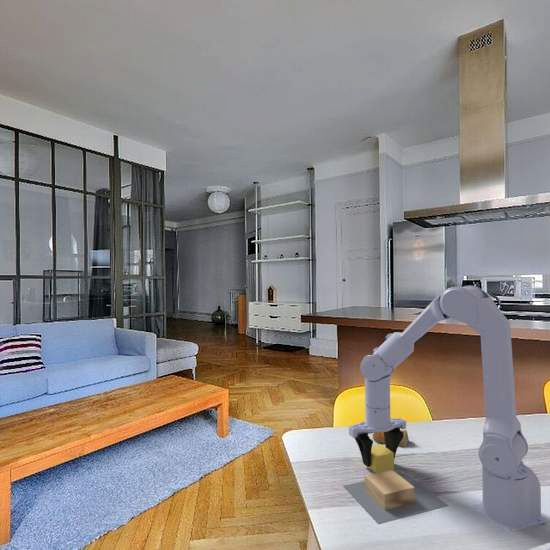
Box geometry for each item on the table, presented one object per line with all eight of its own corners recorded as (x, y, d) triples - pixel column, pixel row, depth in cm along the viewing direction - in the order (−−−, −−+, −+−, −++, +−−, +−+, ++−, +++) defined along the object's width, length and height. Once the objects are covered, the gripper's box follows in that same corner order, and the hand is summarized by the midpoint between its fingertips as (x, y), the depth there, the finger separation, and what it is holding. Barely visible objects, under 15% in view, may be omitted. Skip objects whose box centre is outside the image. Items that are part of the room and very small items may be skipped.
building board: (405, 474, 85) (405, 472, 85) (448, 508, 72) (448, 505, 72) (342, 488, 79) (342, 485, 79) (378, 527, 67) (378, 523, 67)
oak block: (392, 483, 80) (392, 469, 80) (414, 502, 73) (414, 487, 73) (364, 490, 78) (364, 475, 78) (384, 510, 71) (384, 494, 71)
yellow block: (381, 462, 91) (381, 443, 91) (394, 472, 86) (393, 453, 86) (363, 465, 89) (363, 447, 89) (375, 476, 84) (375, 456, 84)
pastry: (371, 445, 100) (371, 430, 100) (374, 435, 106) (374, 422, 106) (408, 450, 97) (407, 436, 97) (409, 440, 103) (408, 426, 103)
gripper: (393, 396, 94) (393, 450, 94) (342, 403, 89) (342, 459, 89) (411, 405, 87) (412, 463, 87) (357, 413, 82) (358, 474, 82)
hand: (378, 462), depth 88 cm, fingers open, 6 cm apart
